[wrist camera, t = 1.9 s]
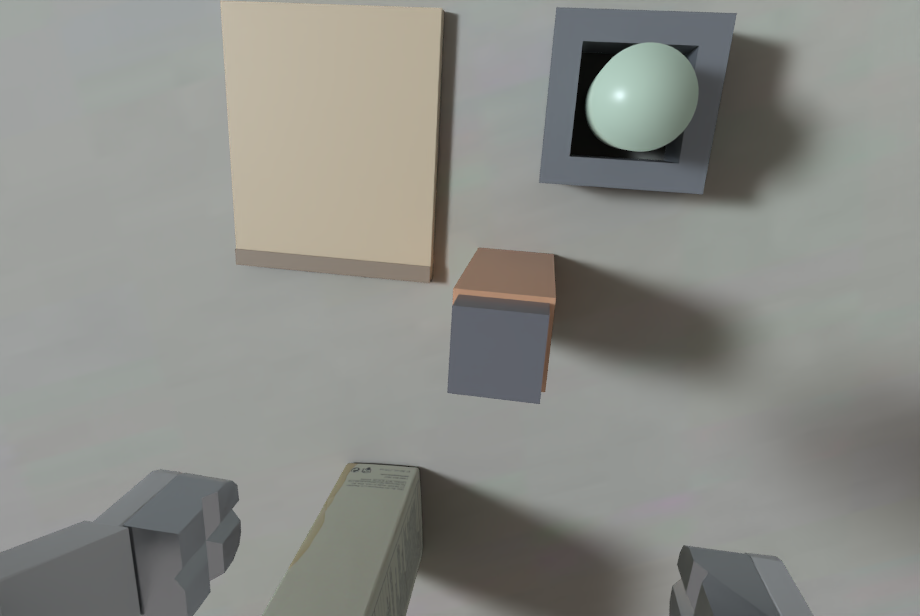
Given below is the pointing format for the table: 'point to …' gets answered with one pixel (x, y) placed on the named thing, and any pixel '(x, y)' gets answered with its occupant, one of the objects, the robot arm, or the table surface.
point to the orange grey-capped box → (502, 325)
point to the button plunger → (642, 98)
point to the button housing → (611, 33)
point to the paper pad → (334, 136)
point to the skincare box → (358, 548)
